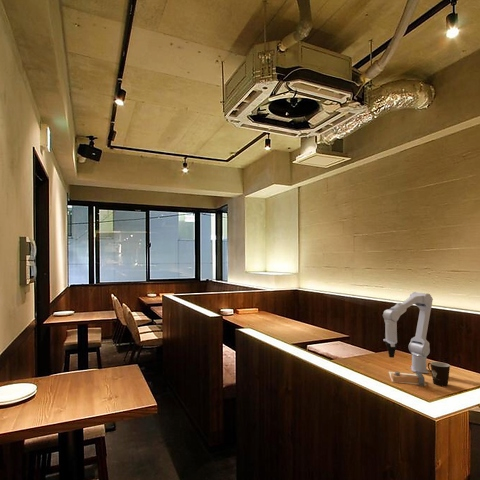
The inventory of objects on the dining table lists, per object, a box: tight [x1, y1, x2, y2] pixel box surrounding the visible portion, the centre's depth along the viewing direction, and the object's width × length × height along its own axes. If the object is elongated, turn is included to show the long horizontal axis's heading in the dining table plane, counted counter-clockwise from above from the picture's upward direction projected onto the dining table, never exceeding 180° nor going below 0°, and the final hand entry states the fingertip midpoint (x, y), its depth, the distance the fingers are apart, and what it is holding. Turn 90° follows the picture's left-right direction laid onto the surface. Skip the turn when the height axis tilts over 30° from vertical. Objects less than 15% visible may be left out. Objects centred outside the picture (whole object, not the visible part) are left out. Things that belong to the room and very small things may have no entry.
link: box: [390, 373, 426, 383], centre depth 176 cm, size 15×5×2 cm, turn 76°
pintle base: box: [388, 371, 427, 386], centre depth 181 cm, size 16×16×4 cm
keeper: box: [415, 371, 425, 387], centre depth 174 cm, size 9×2×4 cm, turn 162°
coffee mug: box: [427, 361, 451, 388], centre depth 174 cm, size 12×9×10 cm
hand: (391, 357), depth 185 cm, fingers closed
